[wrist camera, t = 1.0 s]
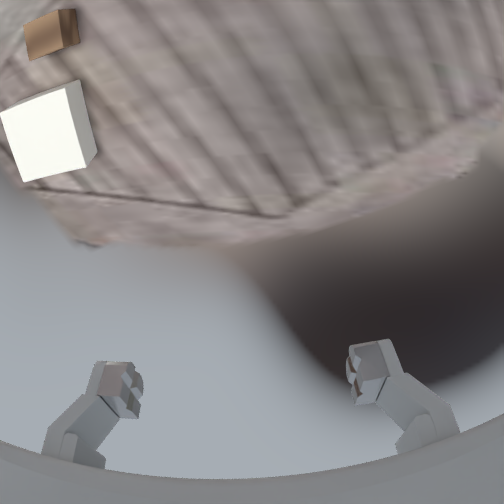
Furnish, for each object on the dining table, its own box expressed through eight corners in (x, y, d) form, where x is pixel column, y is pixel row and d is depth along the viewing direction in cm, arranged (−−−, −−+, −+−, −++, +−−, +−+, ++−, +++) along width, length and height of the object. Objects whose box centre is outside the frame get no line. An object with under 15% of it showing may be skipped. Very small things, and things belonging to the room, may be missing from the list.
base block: (18, 101, 32) (-1, 113, 28) (80, 78, 32) (64, 87, 28) (38, 165, 39) (23, 182, 35) (98, 150, 39) (86, 167, 36)
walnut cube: (42, 22, 25) (23, 25, 21) (75, 8, 25) (57, 9, 21) (48, 54, 28) (29, 61, 25) (80, 42, 28) (63, 47, 25)
